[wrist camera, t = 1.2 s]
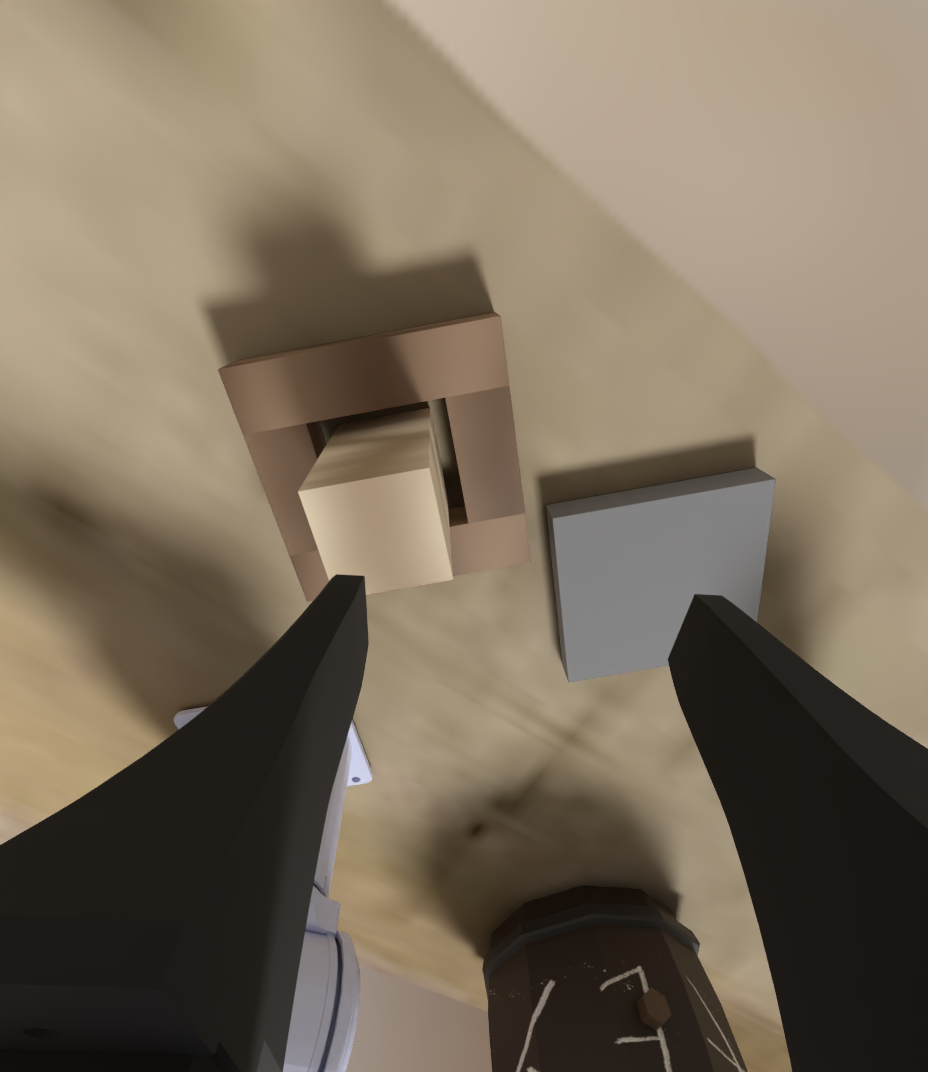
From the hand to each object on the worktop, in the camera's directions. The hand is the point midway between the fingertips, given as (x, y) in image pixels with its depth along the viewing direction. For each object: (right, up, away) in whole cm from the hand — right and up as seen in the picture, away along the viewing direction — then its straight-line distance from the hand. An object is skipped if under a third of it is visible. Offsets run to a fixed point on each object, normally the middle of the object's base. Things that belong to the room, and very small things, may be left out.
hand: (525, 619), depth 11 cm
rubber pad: (+8, 0, +15) cm, 17 cm away
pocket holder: (-4, +5, +11) cm, 13 cm away
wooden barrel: (+9, -32, +32) cm, 46 cm away
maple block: (-4, +5, +11) cm, 13 cm away
